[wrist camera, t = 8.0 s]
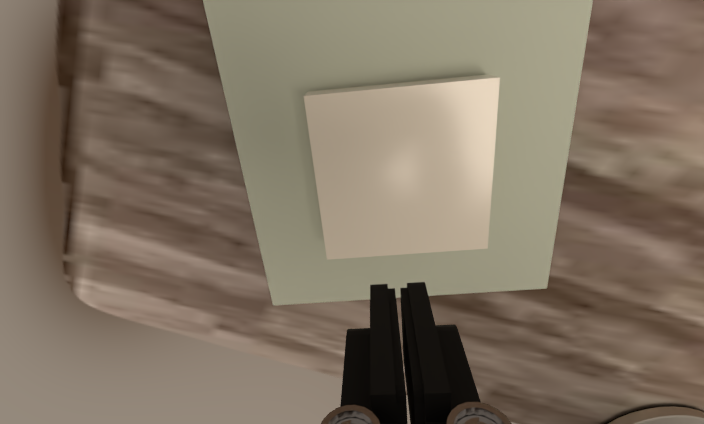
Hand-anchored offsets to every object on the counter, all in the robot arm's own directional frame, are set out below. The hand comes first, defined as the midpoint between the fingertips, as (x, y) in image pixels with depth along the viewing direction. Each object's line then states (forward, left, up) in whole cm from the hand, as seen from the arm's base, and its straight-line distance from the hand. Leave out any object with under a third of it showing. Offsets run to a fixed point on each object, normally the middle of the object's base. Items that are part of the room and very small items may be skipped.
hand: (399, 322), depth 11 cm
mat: (-1, -1, -14) cm, 14 cm away
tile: (-6, -1, -12) cm, 13 cm away
